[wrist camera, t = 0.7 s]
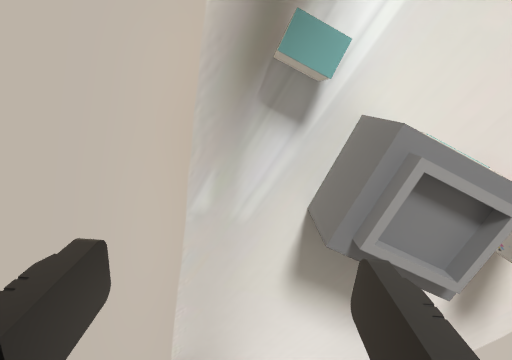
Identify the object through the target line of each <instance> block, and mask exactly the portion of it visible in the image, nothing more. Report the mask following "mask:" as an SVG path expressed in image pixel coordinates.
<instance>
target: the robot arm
mask: <svg viewBox="0 0 512 360" xmlns="http://www.w3.org/2000/svg"><path fill="white" fill-rule="evenodd" d="M110 286H111V280H110V270H109V260H108V250H107V244H106V242H105V241H104V240H94V239H80V238H78V239H75V240H73V241H72V242H71V243H70V244H68V245H67V246H66V247H65V248H64V249H63V250H61V251H60V252H59V253H58V254H53V255H51V256H49V257H47V258H45V259H43V260H41V261H39V262H37V263H35V264H34V265H32V266H31V267H30V268H28V269H27V270H26V271H25V272H23V273H22V274H21V275H20V276H19V277H18V279H15V280H13V281H12V282H11V283H10V284H8V285H7V286H6V287H5V288H4V290H3V291H0V360H66V359H67V357H68V356H69V354H70V353H71V351H72V350H73V348H74V347H75V346H76V344H77V343H78V341H79V340H80V338H81V337H82V335H83V334H84V333H85V331H86V330H87V328H88V327H89V325H90V324H91V323H92V321H93V320H94V318H95V317H96V315H97V314H98V312H99V311H100V309H101V308H102V307H103V305H104V304H105V302H106V300H107V298H108V295H109V292H110ZM351 313H352V317H353V320H354V323H355V325H356V327H357V330H358V332H359V334H360V337H361V339H362V341H363V344H364V346H365V348H366V351H367V353H368V356H369V358H370V360H480V359H479V358H478V357H477V355H476V354H475V353H474V352H473V351H472V349H471V348H470V347H469V346H468V345H467V343H466V342H465V341H464V340H463V339H462V337H461V336H460V335H459V334H458V333H457V331H456V330H455V329H454V328H453V326H452V325H451V324H450V323H449V322H448V320H445V319H444V316H443V314H442V313H441V312H440V311H439V310H438V308H437V307H434V304H433V302H432V301H431V300H430V299H429V297H428V296H427V295H426V294H425V293H424V291H423V290H422V289H420V288H419V287H418V286H416V285H415V284H414V283H412V282H411V281H409V280H408V279H407V278H402V277H401V275H400V274H399V273H398V272H397V270H396V269H395V268H394V266H393V265H392V264H391V263H390V262H389V261H388V260H377V259H362V260H361V261H360V263H359V267H358V271H357V275H356V279H355V284H354V288H353V292H352V297H351Z"/></svg>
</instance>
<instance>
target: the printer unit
mask: <svg viewBox="0 0 512 360" xmlns="http://www.w3.org/2000/svg"><path fill="white" fill-rule="evenodd" d="M308 210H309V212H310V214H311V217H312V219H313V221H314V223H315V225H316V227H317V229H318V231H319V233H320V236H321V238H322V240H323V242H324V244H325V246H326V247H328V248H330V249H332V250H334V251H337V252H339V253H341V254H343V255H346V256H348V257H350V258H353V259H355V260H357V261H359V262H360V261H361V260H362V259H377V260H388V261H389V262H390V263H391V264H392V265H393V266H394V268H395V269H396V270H397V272H398V273H399V274H400V275H401V277H402V278H407V279H408V280H409V281H411V282H412V283H414V284H415V285H416V286H418V287H419V288H420V289H423V290H425V291H427V292H429V293H432V294H434V295H436V296H438V297H441V298H443V299H445V300H447V301H450V300H451V299H452V298H453V296H454V295H455V294H456V293H458V294H460V292H461V291H462V290H463V289H464V288H465V286H466V285H467V284H468V283H469V282H470V280H471V279H472V278H473V277H474V276H475V275H476V273H477V272H478V271H479V270H480V269H481V267H482V266H483V265H484V264H485V263H486V262H487V260H488V259H489V258H490V257H491V256H492V254H493V253H494V252H495V251H496V250H497V248H498V247H499V246H500V245H501V244H502V243H503V241H504V240H505V239H506V238H507V237H508V235H509V234H510V233H511V232H512V181H510V180H508V179H506V178H504V177H503V175H501V174H499V173H497V172H495V171H493V170H492V169H490V168H489V167H487V166H486V165H484V164H482V163H480V162H478V161H476V160H475V159H473V158H471V157H469V156H467V155H465V154H463V153H462V152H460V151H458V150H456V149H454V148H452V147H451V146H449V145H447V144H445V143H443V142H441V141H439V140H438V139H436V138H434V137H432V136H430V135H428V134H425V133H423V132H419V131H418V130H416V129H414V128H412V127H410V126H408V125H406V124H405V123H400V122H395V121H390V120H385V119H380V118H375V117H370V116H365V115H362V117H361V118H360V120H359V122H358V123H357V125H356V127H355V128H354V130H353V132H352V134H351V135H350V137H349V139H348V140H347V142H346V144H345V145H344V147H343V149H342V151H341V152H340V154H339V156H338V157H337V159H336V161H335V163H334V164H333V166H332V168H331V169H330V171H329V173H328V174H327V176H326V178H325V180H324V181H323V183H322V185H321V186H320V188H319V190H318V191H317V193H316V195H315V197H314V198H313V200H312V202H311V203H310V205H309V207H308Z"/></svg>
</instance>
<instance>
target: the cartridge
mask: <svg viewBox="0 0 512 360" xmlns="http://www.w3.org/2000/svg"><path fill="white" fill-rule="evenodd" d="M351 40H352V38H350V37H348V36H346V35H345V34H343V33H341V32H339V31H338V30H336V29H334V28H332V27H331V26H329V25H327V24H326V23H324V22H322V21H320V20H319V19H317V18H315V17H313V16H312V15H310V14H308V13H306V12H305V11H303V10H301V9H299V8H298V7H297V9H296V11H295V13H294V15H293V17H292V19H291V21H290V23H289V25H288V27H287V29H286V31H285V33H284V35H283V38H282V40H281V42H280V44H279V46H278V48H277V50H276V53H275V55H274V58H276V59H277V60H279V61H281V62H283V63H285V64H287V65H289V66H290V67H292V68H294V69H296V70H298V71H300V72H302V73H304V74H305V75H307V76H309V77H311V78H313V79H315V80H317V81H321V80H326V79H331V78H332V76H333V74H334V72H335V70H336V68H337V66H338V65H339V63H340V61H341V59H342V57H343V55H344V53H345V52H346V50H347V48H348V46H349V44H350V42H351Z"/></svg>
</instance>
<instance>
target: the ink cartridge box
mask: <svg viewBox="0 0 512 360" xmlns="http://www.w3.org/2000/svg"><path fill="white" fill-rule="evenodd" d="M495 252H496V253H498V254H499V255H501V256H502V257H504V258H505V259H507V260H508V261H510V262H511V263H512V232H511V233H510V234H509V235H508V237H507V238H506V239H505V240H504V241H503V243H502V244H501V245H500V246H499V247H498V248H497V250H496V251H495Z"/></svg>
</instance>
